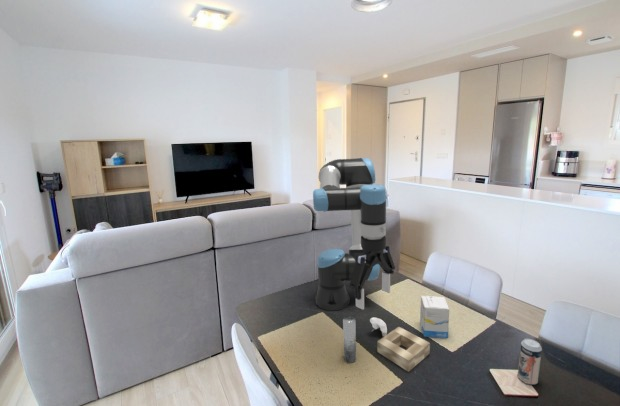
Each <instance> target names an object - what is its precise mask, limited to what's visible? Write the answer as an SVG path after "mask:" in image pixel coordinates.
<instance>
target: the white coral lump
mask: <svg viewBox="0 0 620 406" xmlns="http://www.w3.org/2000/svg"><path fill="white" fill-rule="evenodd" d="M369 322H370V323H371V325H372V328H373V329H372V330H371V332H374V331H375V330H378V329H380V331H381V335H382V337H384V336H386V335H387V334H388V328H387V324H386V322H385V321H384V320H382V319H381V318H378V317H371V318H370V319H369Z"/></svg>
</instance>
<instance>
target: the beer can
mask: <svg viewBox="0 0 620 406" xmlns="http://www.w3.org/2000/svg"><path fill="white" fill-rule="evenodd" d="M542 352H543V348H542V345H541V344H540V343H539V342H538V341H537V340H534V339H532V338H524V339H523V340H521V342H520V350H519V360H518V368H517V369H518V370H517V377H518V379H520V381H521V382H524V383H526V384H527V383H528V385H537V384H538V383H539V375H540V369H541V367H540V366H541V358H542Z"/></svg>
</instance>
